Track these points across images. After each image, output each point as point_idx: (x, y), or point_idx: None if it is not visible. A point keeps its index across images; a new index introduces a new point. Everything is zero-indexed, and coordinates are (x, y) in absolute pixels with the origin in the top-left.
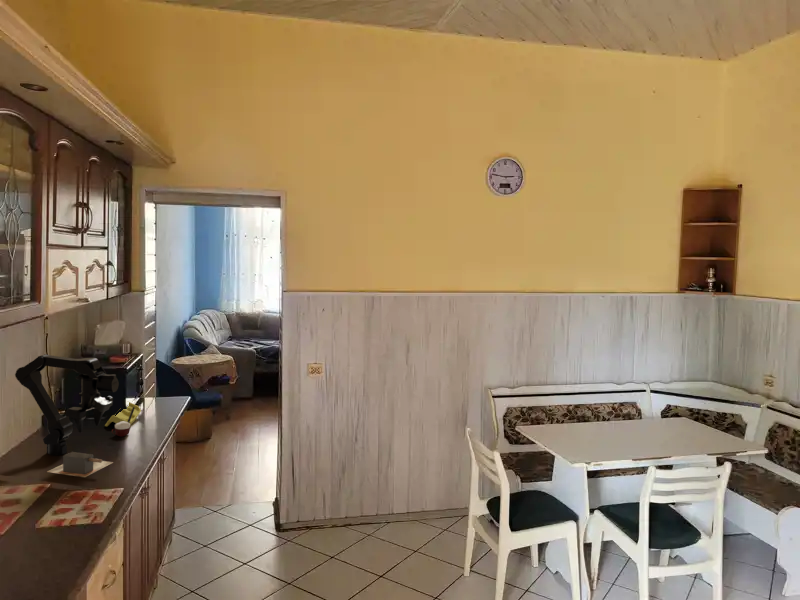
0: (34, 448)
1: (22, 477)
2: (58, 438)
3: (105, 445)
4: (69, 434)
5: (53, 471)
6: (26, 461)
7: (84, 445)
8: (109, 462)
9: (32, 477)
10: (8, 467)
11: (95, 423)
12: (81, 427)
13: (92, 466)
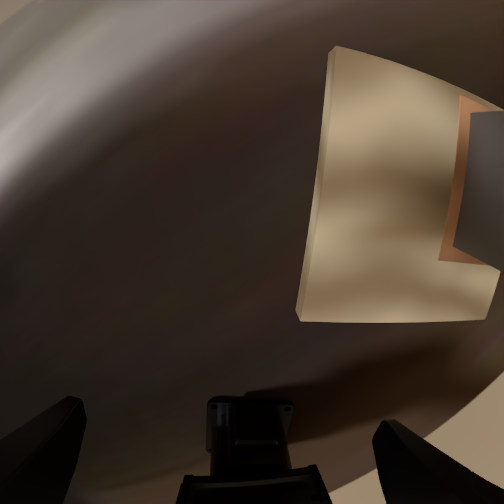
0: None
1: (475, 370)
2: (324, 487)
3: (23, 307)
4: (208, 489)
5: (485, 295)
6: (324, 464)
7: (71, 394)
8: (344, 69)
9: (481, 343)
10: None
11: (78, 446)
12: (437, 454)
13: (490, 113)
